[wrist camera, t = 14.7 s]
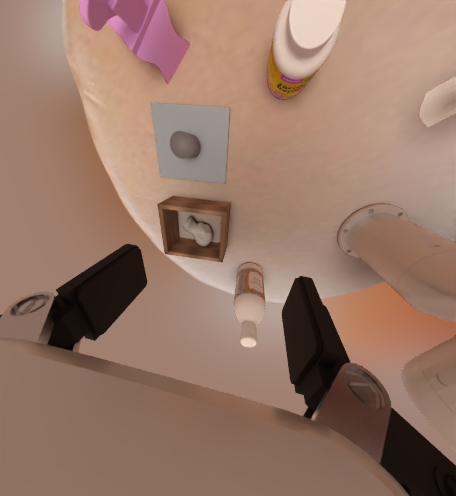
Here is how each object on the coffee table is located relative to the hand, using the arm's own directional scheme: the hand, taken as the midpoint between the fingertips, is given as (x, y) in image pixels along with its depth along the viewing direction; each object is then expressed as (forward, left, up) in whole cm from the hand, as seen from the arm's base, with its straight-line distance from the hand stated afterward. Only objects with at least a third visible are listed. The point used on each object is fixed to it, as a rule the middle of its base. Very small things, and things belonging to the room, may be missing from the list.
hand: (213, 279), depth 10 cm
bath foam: (-5, +22, -29) cm, 37 cm away
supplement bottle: (-5, -18, -29) cm, 35 cm away
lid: (+11, -7, -30) cm, 32 cm away
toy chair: (+16, -21, -29) cm, 39 cm away
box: (+9, +9, -29) cm, 32 cm away
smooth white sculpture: (+9, +10, -30) cm, 32 cm away
